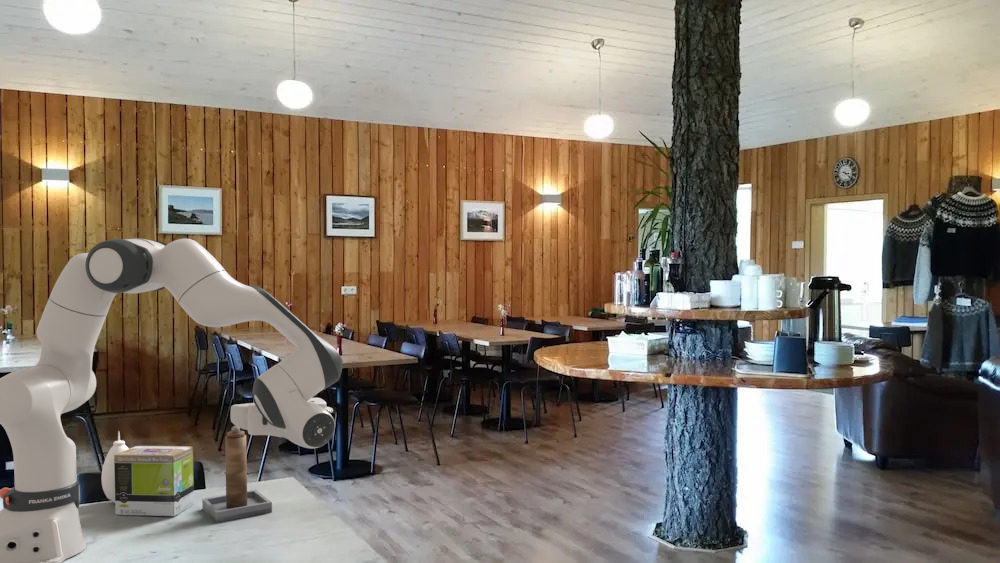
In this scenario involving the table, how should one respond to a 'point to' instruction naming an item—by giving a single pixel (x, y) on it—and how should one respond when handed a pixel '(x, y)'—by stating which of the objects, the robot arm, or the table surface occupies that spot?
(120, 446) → the sauce bottle
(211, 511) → the serving tray
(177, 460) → the tea box
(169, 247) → the robot arm
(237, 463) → the pepper mill
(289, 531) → the table surface
